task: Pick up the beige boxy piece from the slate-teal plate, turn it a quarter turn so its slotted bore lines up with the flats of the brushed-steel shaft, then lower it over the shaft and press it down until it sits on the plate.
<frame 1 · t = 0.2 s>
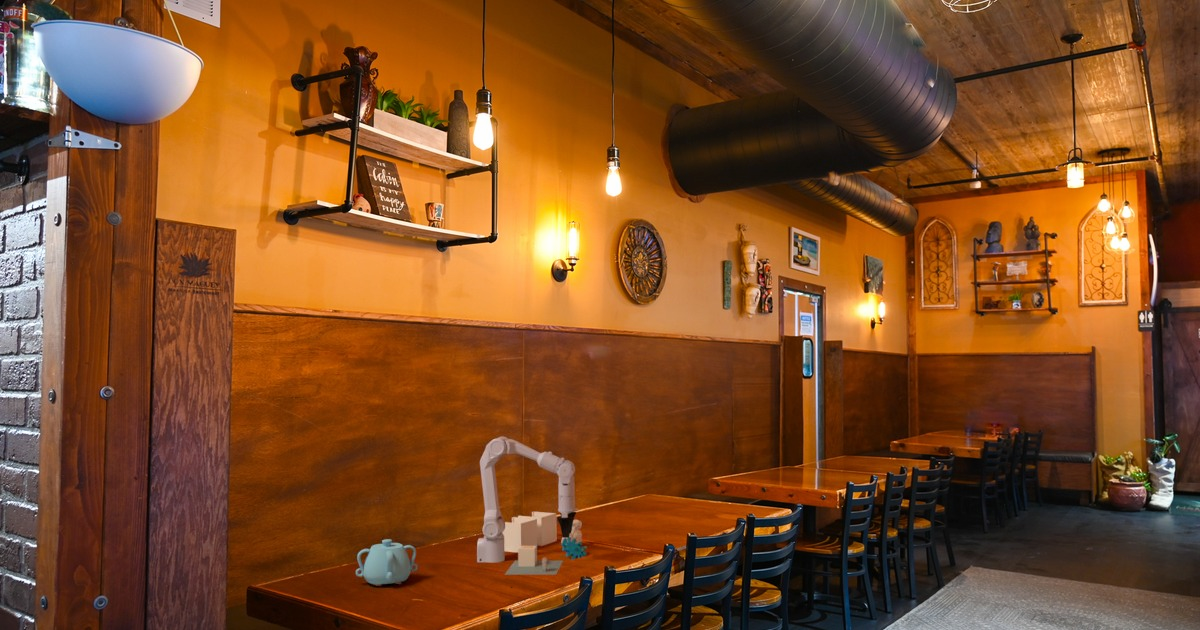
hand: (566, 535, 292), 10 cm above the table, fingers open, 7 cm apart
base plate: (534, 570, 281), on the table
storage container: (527, 546, 324), on the table
d shaft: (544, 570, 276), resting on base plate
beige boxy piece: (527, 564, 286), point 1 cm above the table, touching base plate
gear: (575, 560, 298), on the table
decorative pot: (387, 583, 270), on the table
bust: (573, 546, 321), on the table
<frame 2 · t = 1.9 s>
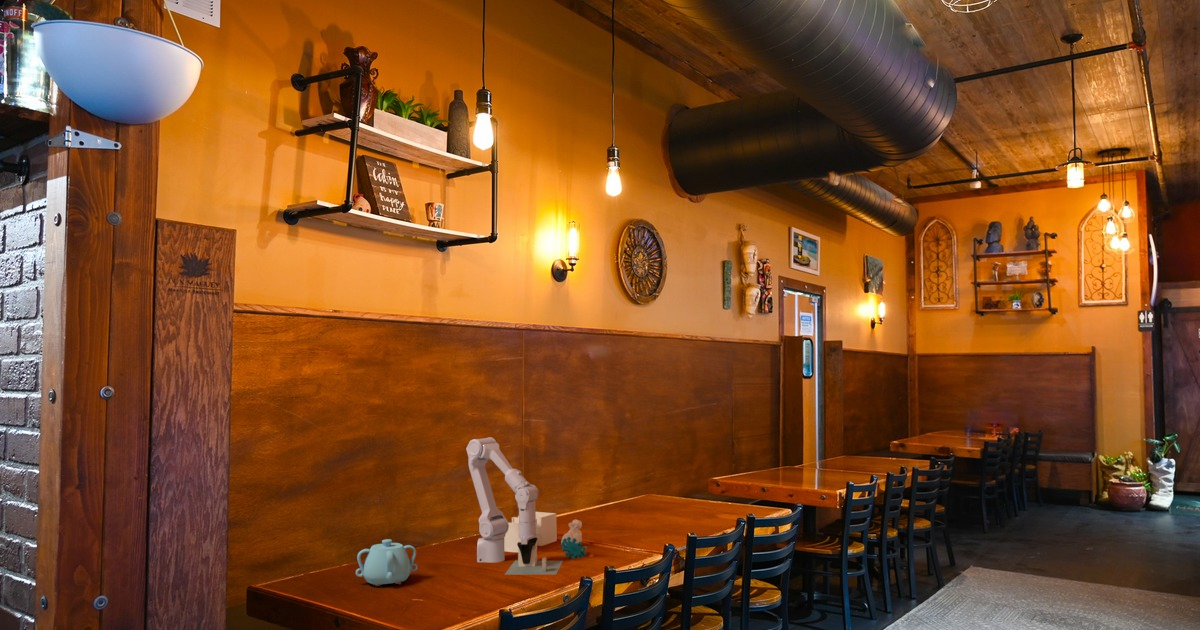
hand: (527, 561, 286), 2 cm above the table, fingers closed on beige boxy piece, 6 cm apart
beige boxy piece: (527, 564, 286), point 1 cm above the table, touching base plate, gripper
everything else where it was.
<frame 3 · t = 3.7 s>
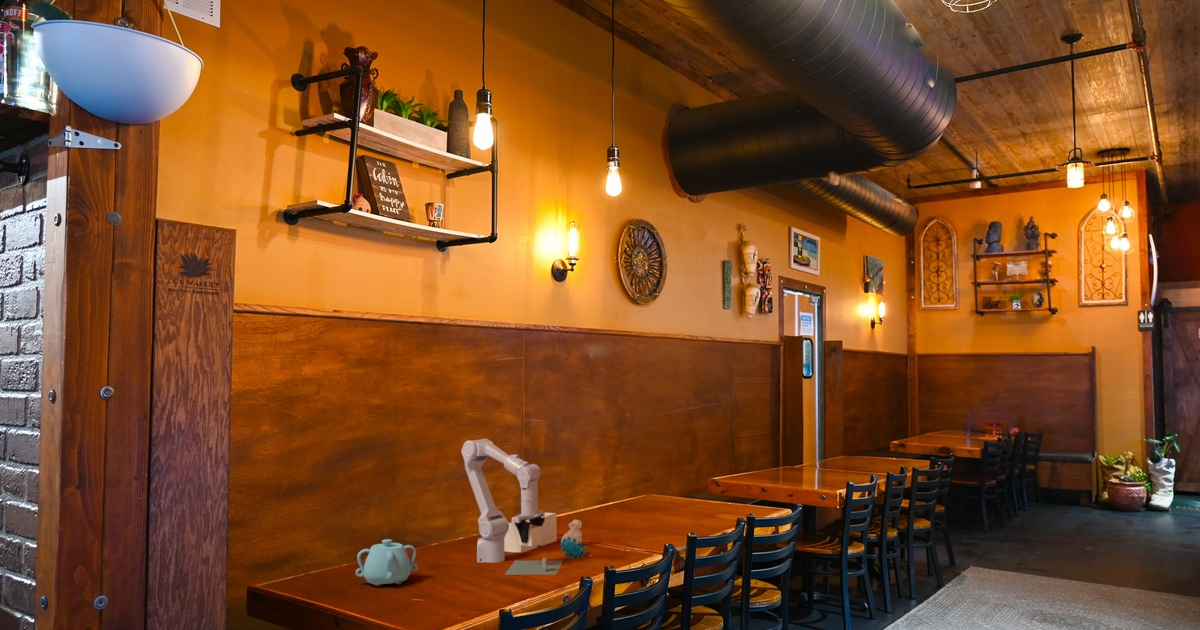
hand: (530, 540, 285), 9 cm above the table, fingers closed on beige boxy piece, 6 cm apart
beige boxy piece: (530, 544, 285), point 8 cm above the table, touching gripper
everything else where it was.
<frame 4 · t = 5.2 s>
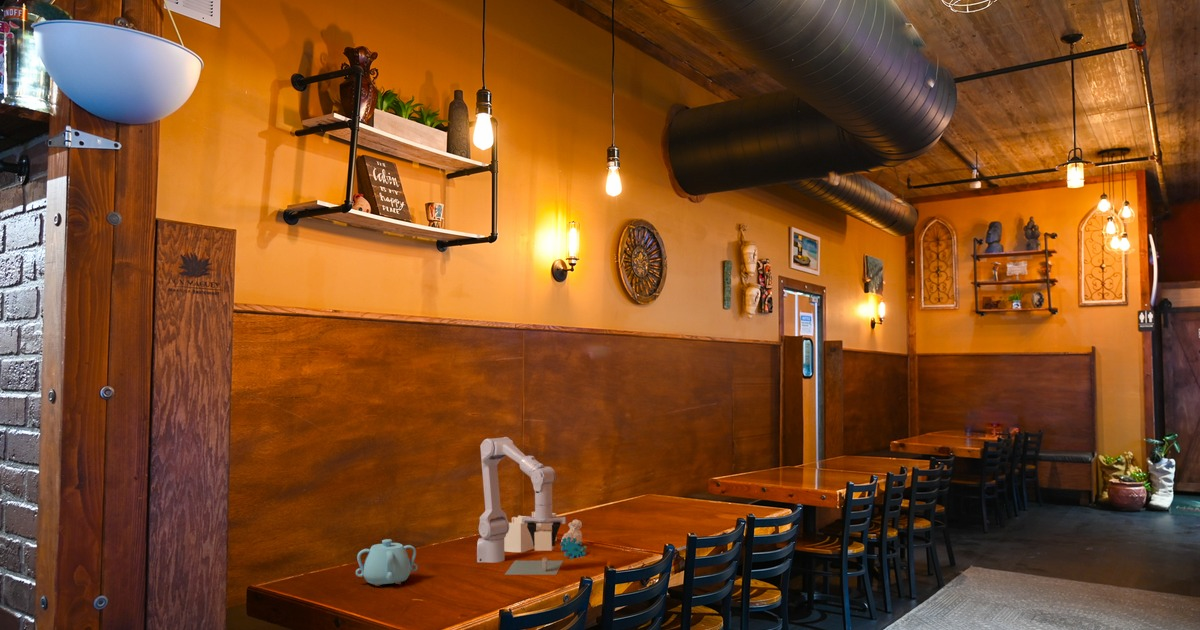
hand: (544, 545, 277), 9 cm above the table, fingers closed on beige boxy piece, 6 cm apart
beige boxy piece: (544, 548, 277), point 8 cm above the table, touching gripper
everything else where it was.
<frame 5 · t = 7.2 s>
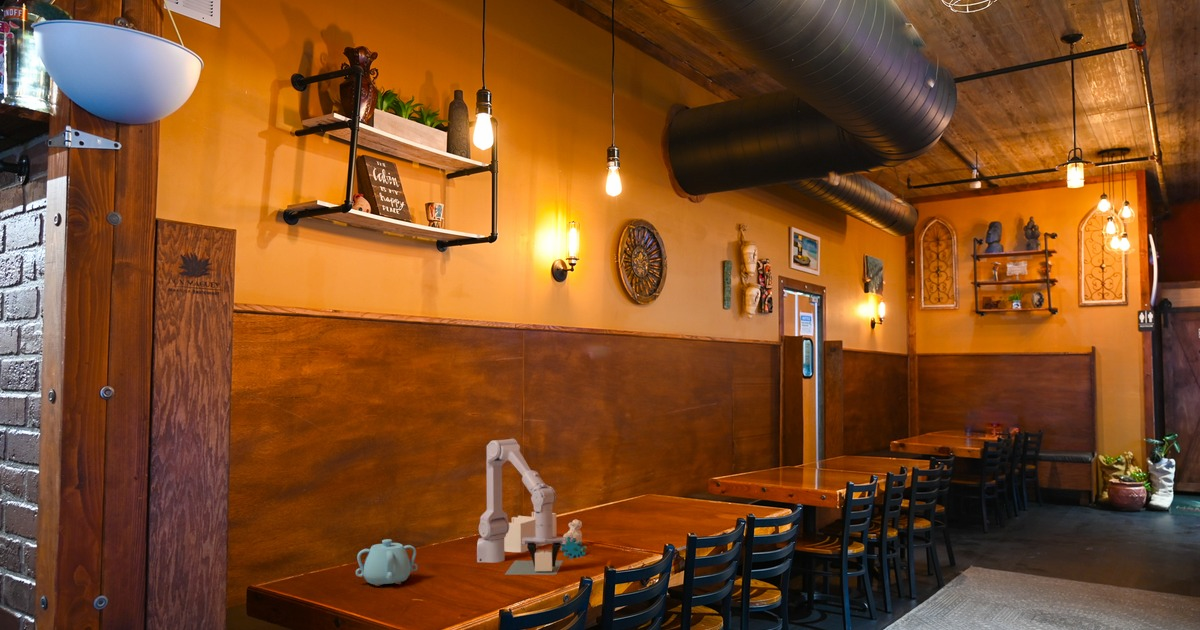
hand: (544, 566, 276), 3 cm above the table, fingers closed on beige boxy piece, 6 cm apart
beige boxy piece: (544, 569, 276), point 2 cm above the table, touching gripper
everything else where it was.
when the fingers open (2 cm above the table, at t = 8.7 s): beige boxy piece stays where it is, resting on base plate.
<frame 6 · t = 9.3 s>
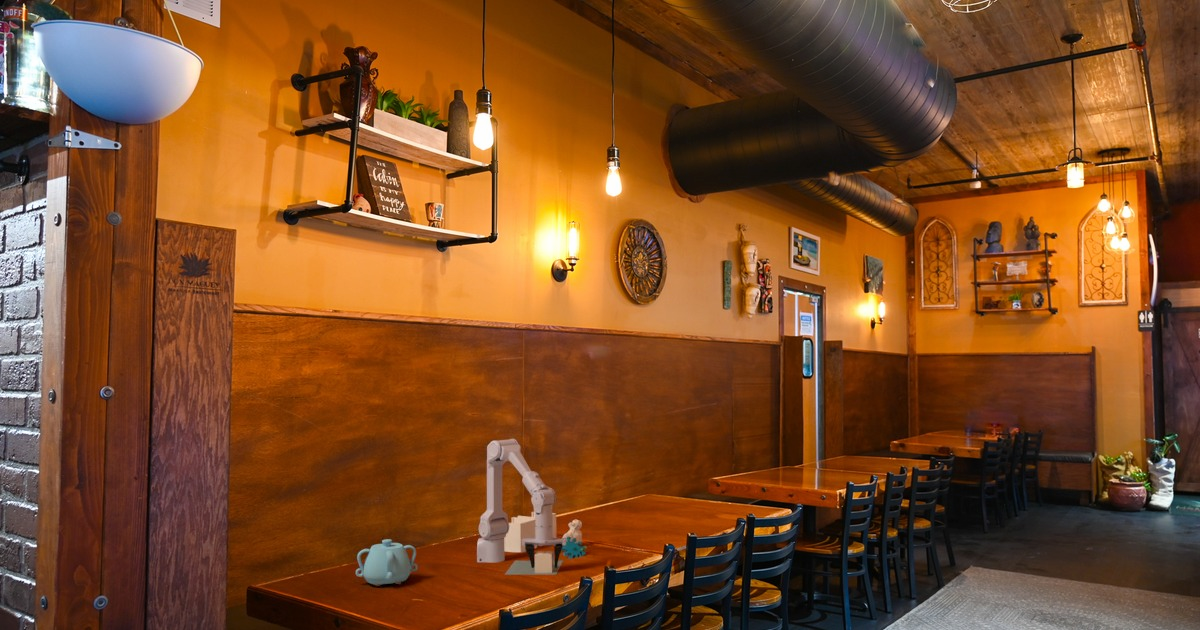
hand: (544, 567, 276), 2 cm above the table, fingers open, 7 cm apart
beige boxy piece: (544, 570, 276), point 1 cm above the table, touching base plate
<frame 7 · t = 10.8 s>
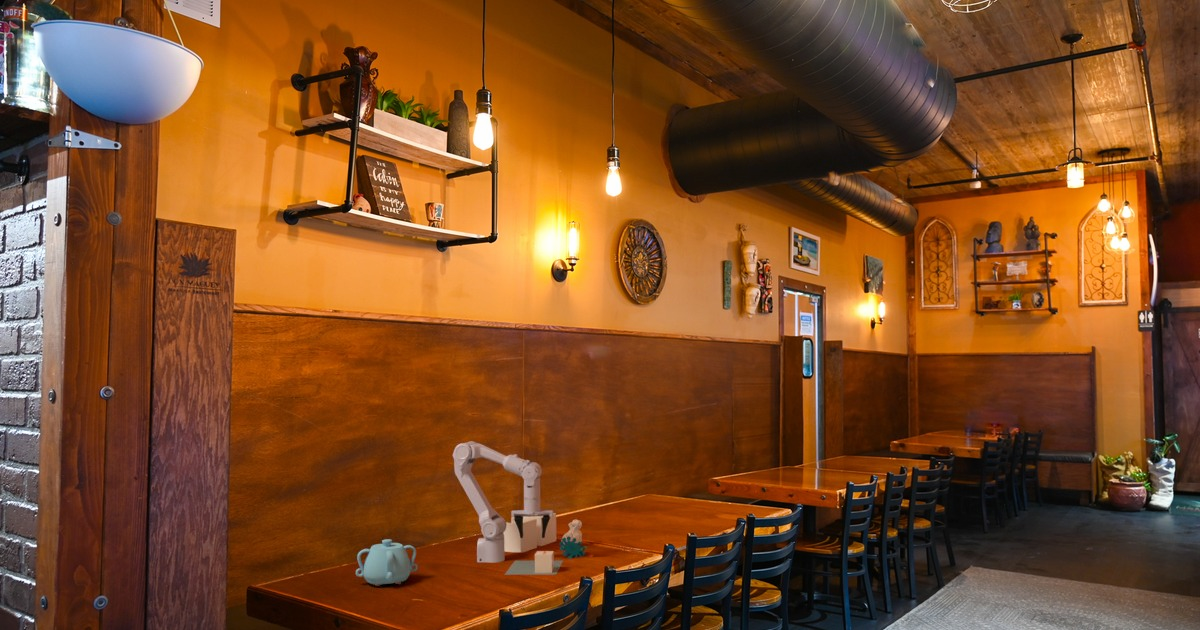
hand: (532, 537, 291), 9 cm above the table, fingers open, 7 cm apart
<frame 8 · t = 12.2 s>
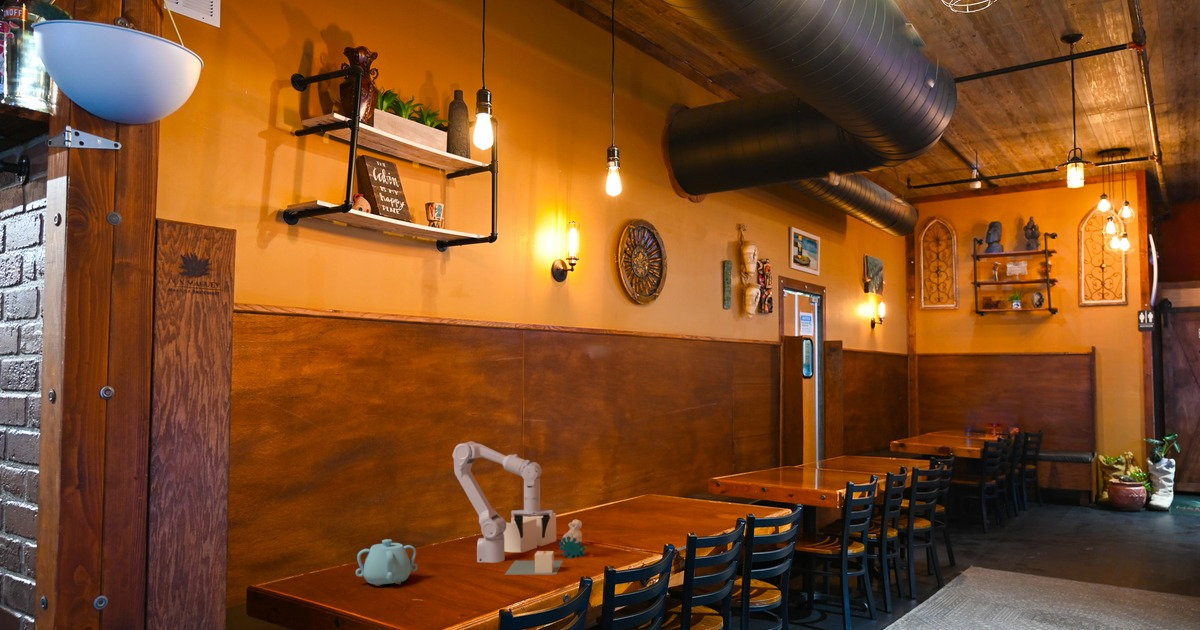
hand: (532, 537, 291), 9 cm above the table, fingers open, 7 cm apart
at the end: beige boxy piece 0.0 cm off-centre on the d shaft, point 0.0 cm above the d shaft's base; beige boxy piece tilted 0°; the gripper is holding nothing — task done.
